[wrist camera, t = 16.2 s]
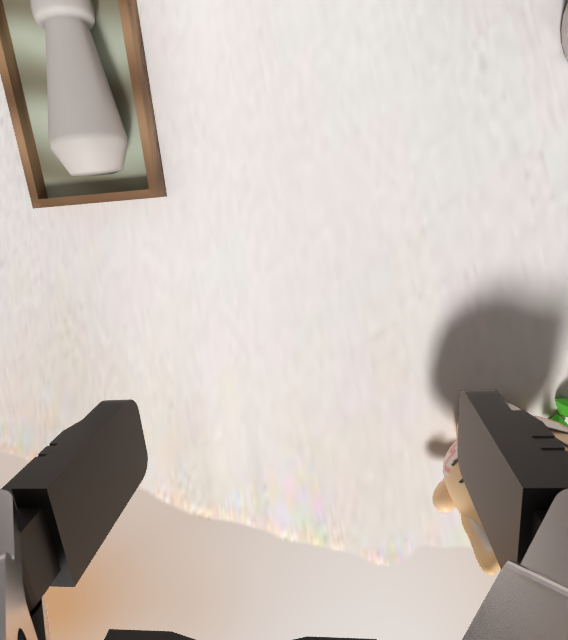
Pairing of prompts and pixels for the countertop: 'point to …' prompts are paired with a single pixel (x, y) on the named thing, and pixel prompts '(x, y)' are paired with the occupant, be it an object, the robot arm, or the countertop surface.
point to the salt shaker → (79, 92)
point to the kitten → (457, 495)
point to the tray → (127, 89)
